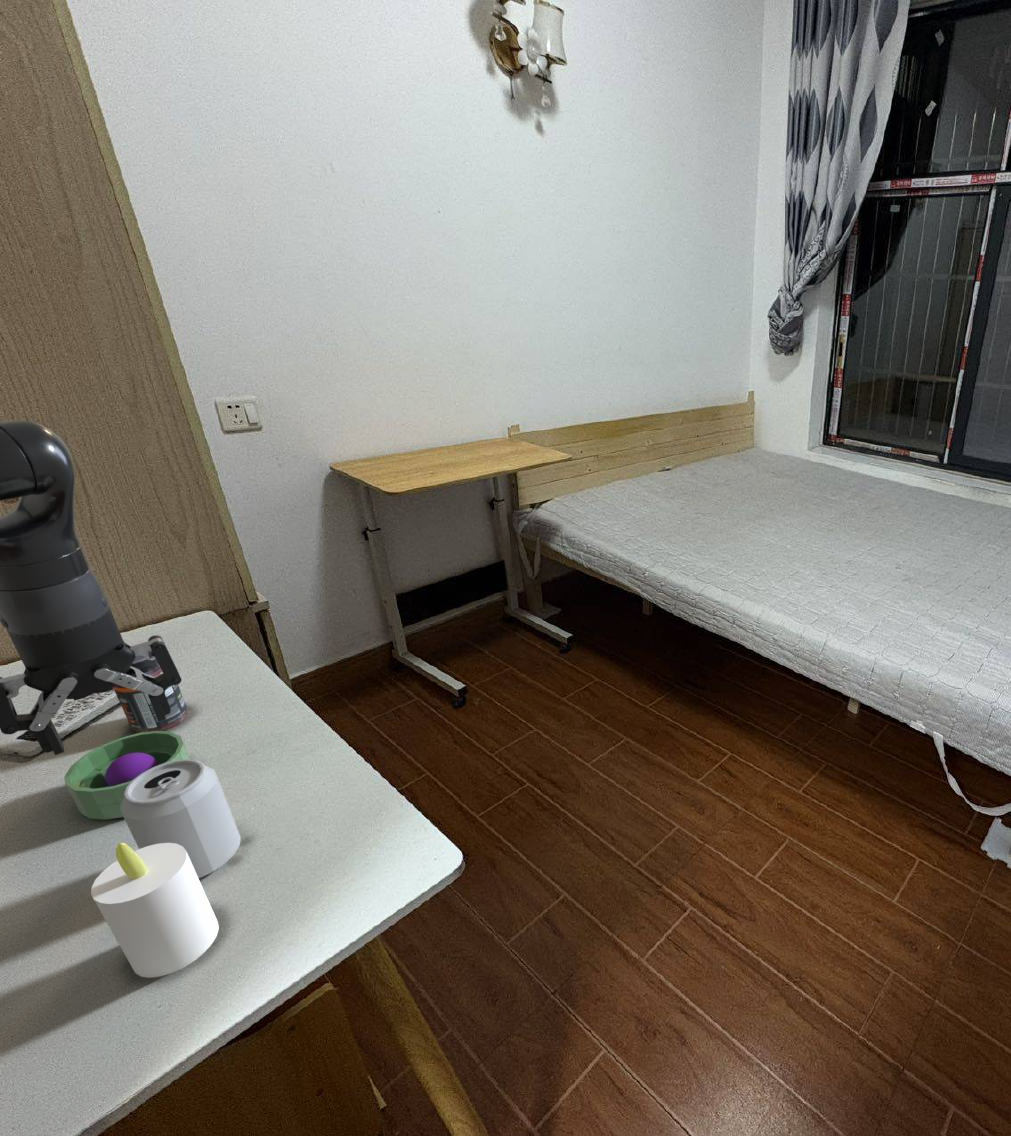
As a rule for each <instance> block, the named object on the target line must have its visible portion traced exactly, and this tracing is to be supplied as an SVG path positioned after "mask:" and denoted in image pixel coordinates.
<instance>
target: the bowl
mask: <svg viewBox="0 0 1011 1136" xmlns="http://www.w3.org/2000/svg"><path fill="white" fill-rule="evenodd" d="M131 753H145V754H149V755H151V756H152V757H154V758H155V759H156V760H157V762H158V765H161V764H163V763H166V762H171V761H175V760H182V759H191V757H190V755H189V752H188V750H187V748H186V745H185V742H184V740H183V737H182V736H181V735H179V734H177V733H175V732H174V731H168V730H166V731H151V732H142V733H133V734H130V735H126V736H122V737H119V738H117V739H115V740H112V741H109V742H107V743H104V744H102V745H100V746H98V747H96V748H95V749H93V750H91V751H89V752H88V753H86V754H84V755H82V756H81V757H80V758H79V759H78V760H76V761H75V762H74V763H73V764H72V765H71V766H70V767H69V769H68V770H67V771H66V774H65V775H64V783H65V786H66V789H67V791H68V792H69V794H70V797H71V798H72V800H73V801H74V804H75V806H76V807H77V809H78V811H79V813H80V814H82V815H83V816H85V817H86V818H88V819H93V820H101V821H102V820H104V821H108V820H113V819H119V818H124V817H123V815H122V812H121V809H120V806H121V803H122V801H123V799H124V798H125V797H124V792H125V789H126V787H127V786H128V785H129V784H130V783H131V781H129V782H126V783H122V784H119V785H115V786H111V787H109V786H108V785H107V783H106V780H105V774H106V771H107V769H108V767H109V766H110V765H111V763H113V762H114V761H115V760H116V759H118V758H120V757H122V756H124V755H127V754H131Z"/></svg>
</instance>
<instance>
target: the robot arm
mask: <svg viewBox="0 0 1011 1136" xmlns="http://www.w3.org/2000/svg"><path fill="white" fill-rule="evenodd" d="M75 477H76V475H75V464H74V460H73V457H72V454H71V451H70V449H69V448H68V446H67V444H66V443H65V442H64V440H62V438H61V437H60V436H59V435H58V434H56V433H55V432H54V431H53V430H51V429H50V428H48V427H46V426H44V425H43V424H40V423H37V422H36V421H35V422H34V421H31V420H9V421H8V420H7V421H0V502H3V501H8V500H12V499H17V498H18V499H19V500H18V501H17V505H16V507H15V508H14V509H13V510H12V511H10V512H9V513H7V514H5V515H3V516H1V517H0V623H1V625H2V626H3V627H4V628H5V630H6V631H7V634H8V636H9V638H10V639H11V642H12V644H13V646H14V648H15V650H16V652H17V654H18V656H19V658H20V660H21V662H22V663H23V666H24V668H25V669H24V672H23V673H20V674H16V675H12V676H7V677H2V676H0V732H1V733H2V734H3V735H14V734H16V733H17V732H23V731H28V732H31V733H33V735H34V737H35V739H36V741H37V743H38V745H39V746H40V749H41V751H42V752H44V753H46V754H49V753H51V752H52V753H53V754H54V756H57V755H61V754H63V753H64V754H65V745H64V743H63V741H62V737H60V734H59V732H58V731H57V728H56V726H55V725H54V723H53V721H52V719H53V717H54V715H55V714H57V713H58V712H59V710H60V709H61V707H62V706H63V704H64V702H65V701H66V700H73V701H79V700H82V699H85V698H87V697H89V696H92V695H94V694H95V695H96V694H101V693H106V692H110V691H115V690H114V689H113V688H114V687H116V686H117V685H120V686H123V687H126V688H128V689H131V690H139V691H141V692H144V693H147V694H148V696H149V699H150V702H151V704H152V706H153V709H154V711H155V714H156V716H157V719H158V721H162V720H165V719H166V717H165V715H167V714H170V712H171V708H170V706H169V703H168V700H167V698H166V695H165V690H166V689H167V688H168V687H170V686H172V685H178V686H179V685H180V684H181V683H182V677H181V675H180V672H179V670H178V668H177V666H176V664H175V662H174V660H173V658H172V656H171V654H170V651H169V649H168V647H167V646H166V644H165V641H164V639H163V637H162V636H161V635H157V634H156V635H151V636H150V637H149V638H148V640H147V641H145V642H141V643H139V644H135V645H132V646H131V645H129V644H128V643H126V642H125V640H124V639H123V636H122V634H121V631H120V629H119V626H118V625H117V624H118V623H117V622H116V619H115V617H114V615H113V612H112V609H111V607H110V605H109V600H108V598H107V596H106V594H105V592H104V590H103V588H102V586H101V583H100V582H99V580H98V578H97V577H96V575H95V574H94V572H93V571H92V569H91V566H90V564H89V562H88V560H87V557H86V554H85V552H84V551H83V547H82V545H81V542H80V540H79V538H78V535H77V530H76V520H75V519H76V518H75ZM135 656H144V657H145V658H146V659H147V660H155V659H156V660H157V662H158V664H159V666H160V668H161V670H162V672H163V674H161V675H159V676H158V677H153V676H151V675H148V674H146V673H143V672H141V671H140V670H139V669H137V668H134V667H132V666H131V665H132V663H133V661H134V660H135ZM25 686H27V687H28V688H30V689H31V688H32V689H34V690H37V691H40V692H41V693H40V694H39V696H38V698H37V700H36V702H35V705H34V706H33V707H32V709H31V711H30V712H29V713H22V714H20V713H19V714H18V712H17V710H16V708H15V704H14V702H13V700H12V699H14V698H16V697H18V696H19V693H20V692H19V690H20V689H21V688H22V687H25Z"/></svg>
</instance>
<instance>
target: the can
mask: <svg viewBox="0 0 1011 1136" xmlns="http://www.w3.org/2000/svg"><path fill="white" fill-rule="evenodd" d="M124 797H125V798H124V799H123V801H122V803H121V806H120V809H121V812H122V815H123V817H122V818H123V819H124V822H125V823H126V825H127V828H128V829H129V831H130V833H131V835H132V837H133V839H134V842H135V844H136V845H137V847H138V849H141V848H144V847H146V846H150V845H154V844H159V843H175V844H179V845H181V846H183V847H184V849H185V850H186V851H187V854H188V856H189V858H190V860H191V863H192V865H193V867H194V869H195V872H196V874H197V876H198V878H199V879H202V878H204V877H206V876H207V875H210V874H211V873H213V872H215V871H216V870H217V869H219V868H220V867H222V866H223V865H225V864H226V863H227V862H228V861H229V860H230V859H231V858H232V857H234V855H235V854H236V852H238V851H237V850H238V849H239V848H240V846H241V840H242V837H241V834H240V831H239V829H238V827H237V824H236V821H235V819H234V816H233V813H232V811H231V808H230V806H229V805H230V804H229V803H228V801H227V798H226V794H225V793H224V790H223V787H222V785H221V782H220V780H219V777H218V775H217V773H216V771H215V769H213V768H211V767H210V766H207V765H205V764H204V762H202V761H200V760H198V759H193V758H192V759H191V758H190V759H182V760H175V761H171V762H166V763H163V764H161V765H158V766H155V767H153V768H151V769H149V770H147V771H145V772H143V773H142V774H140V775H139V776H138V777H136V778H135V779H134V780H132V781H131V783H130V784H129V785H128V786H127V787H126V789H125V792H124Z"/></svg>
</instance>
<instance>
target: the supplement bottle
mask: <svg viewBox="0 0 1011 1136" xmlns="http://www.w3.org/2000/svg"><path fill="white" fill-rule="evenodd" d="M131 666H132V667H134V668H137V669H139V670H140V671H141V672H143V673H146V674H148V675H151V676H153V677H158V676H159V675H161V674H163V672H162V670H161V668H160V666H159V664H158V662H157V660H156V659H155V660H147V659H146V658H145V657H144V656H135V660H134V661H133V663H132V665H131ZM113 689H114V690H113V691H114V693H115V696H116V698H117V700H118V701H119V704H120V706H121V709H122V710H123V714H124V715H125V717H126V719H127V722H128V724H129V726H130V727H131V729H132V731H133V732H134V733H135V734H137V733H142V732H151V731H169V730H171V729H173V728H175V727H177V726H178V725H181V724H182V723H183V722H184V721H185V720H186V718H187V717H188V715H189V710H188V706H187V703H186V701H185V698H184V696H183V692H182V691H181V687H180V685H179V684H178V685H172V686H170V687H168V688H167V689H166V690H165V695H166V698H167V700H168V703H169V706H170V708H171V712H170V714H167V715H165V717H166V719H165V720H162V721H158V719H157V716H156V714H155V711H154V709H153V706H152V704H151V702H150V699H149V696H148V694H147V693H144V692H141V691H139V690H131V689H128V688H126V687H123V686H120V685H117V686H116V687H114V688H113Z"/></svg>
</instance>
